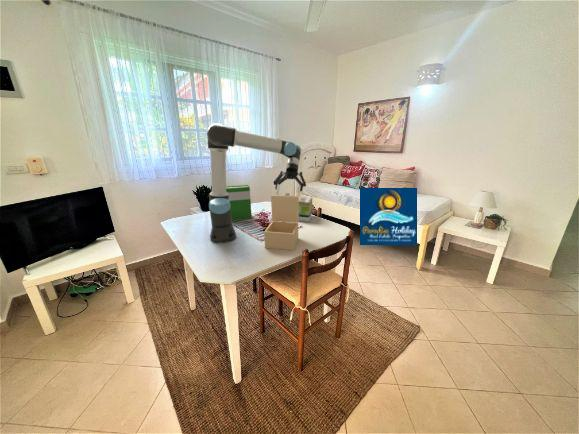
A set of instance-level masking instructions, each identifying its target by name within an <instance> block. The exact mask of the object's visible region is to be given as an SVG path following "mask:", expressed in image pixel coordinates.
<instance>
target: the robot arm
mask: <svg viewBox="0 0 579 434" xmlns="http://www.w3.org/2000/svg"><path fill="white" fill-rule="evenodd" d="M206 137H207V138H206V139H207V149H208V150H209V151H210V169H211V171H210V172H211V173H210V174H211V175H210V176H211V177H210V178H211V191H210V192H209V196H208V197H209V202H208V209H209V214H210V221H211V222H210V223H211V230H210V235H209V238H210V241H211V242H212V243H216V244H224V243H229V242H232V241H234V240H235V239H236V238H237V232H236V230H235V227H234V225H233V221H232V218H231V208H230V207H231V205H230V201H229V194H228V193H227V192H226V186H227V152H228V151H229V147H232V148H234V147H236V146H237V147H242V148H248V149H253V150H258V151H265V152H269V153H276V154H279V155H282V156H284V157H286V158H287V163H286V168H285V172H284V171H283V170H281V171H280V173H279V174H278V176H277V177H276V178H275V180H274V181H273V185H274V186H275V188H274V189H275V195H279V191H280V185H281V184H283V182H285V181H287V180H295V181H296V182H297V184H298V185H299V186H298V187H299V188H298V193H297V196H299V197H301V192H303V190H304V188H305V187H307V183H306V181H305V180H306V179H304V176H303V171H300V172H299V166H300V162H301V161H300V159H301V154H302V149H301V146H299V145H298V144H295V143H294V142H293V141H287V140H282V139H279V138H272V137H267V136H263V135H259V134H253V133H249V132H245V131H240V130H237V129H236V128H235V127H231V126H227V125H225V124H222V123H218V122H217V123H215V122H214V123H212V124H211V125H209V127H208V128H207V131H206ZM298 177H300V178H298Z"/></svg>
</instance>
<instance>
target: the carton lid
mask: <svg viewBox="0 0 579 434" xmlns="http://www.w3.org/2000/svg"><path fill="white" fill-rule="evenodd" d="M270 201H271V222H272V221H274V222H289V223H298V224H299V222H300V221H299V196H298V195H297V196H296V195H290V193H285V194H284V195H279V194H278V195H276V194H271V195H270Z"/></svg>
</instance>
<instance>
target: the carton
mask: <svg viewBox="0 0 579 434" xmlns="http://www.w3.org/2000/svg"><path fill="white" fill-rule="evenodd" d="M263 235H264V237H263V239H264V248H265V249H275V250H283V251H284V250H285V251H294V250H295V247H296V245H297V242H298V239H299V223H293V222H279V221H272V220H271V222H270V224H269V225H268V226H267V227H266V229H265V230H264V231H263Z"/></svg>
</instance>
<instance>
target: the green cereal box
mask: <svg viewBox="0 0 579 434" xmlns="http://www.w3.org/2000/svg"><path fill="white" fill-rule="evenodd" d="M226 192H227V193H228V194H229V201H230V205H231V207H230V208H231V218H232V222H233V221H241V220H242V221H243V220H250V219H252V218H253V217H252V201H251V189H250V185H249V184H244V185H243V184H239V185H226Z"/></svg>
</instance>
